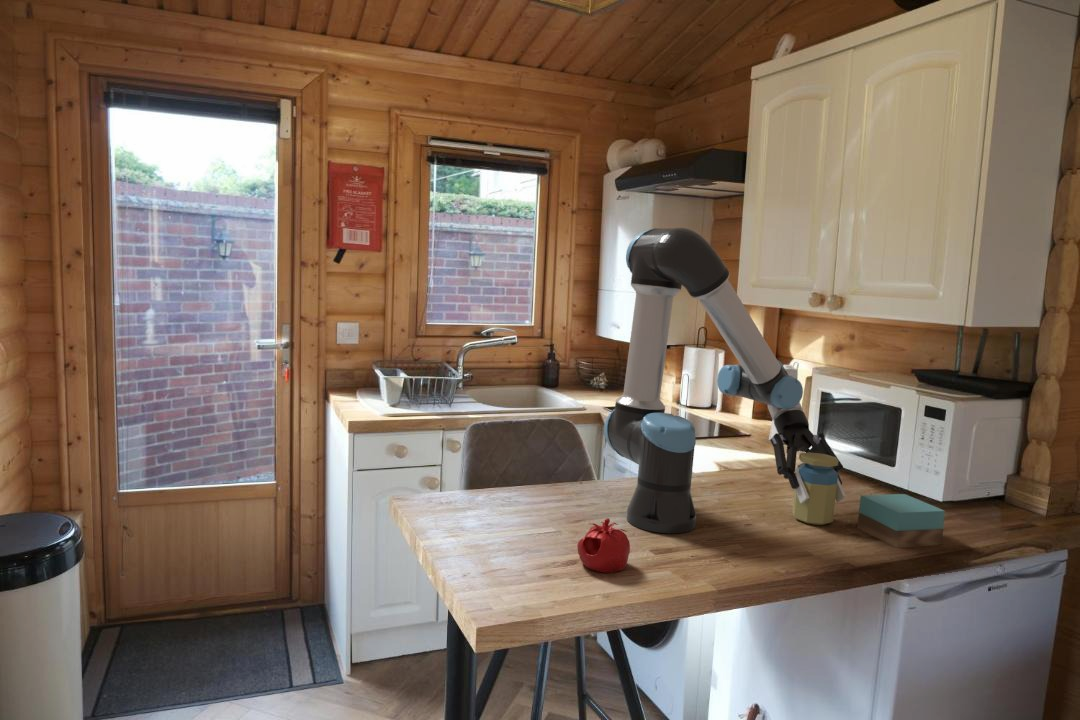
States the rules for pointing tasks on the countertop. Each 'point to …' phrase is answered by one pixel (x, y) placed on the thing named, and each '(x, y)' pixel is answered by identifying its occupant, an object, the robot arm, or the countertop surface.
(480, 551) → the countertop surface
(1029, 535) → the countertop surface
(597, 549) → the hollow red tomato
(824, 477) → the jar
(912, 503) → the tower top
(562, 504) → the countertop surface
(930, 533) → the tower base
